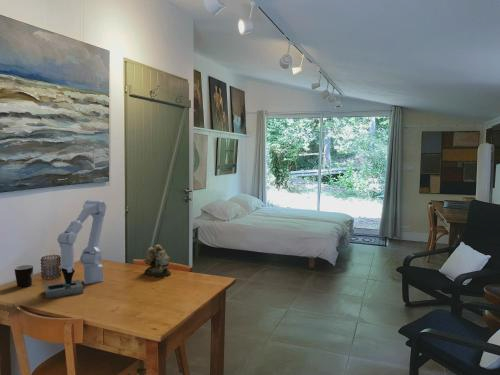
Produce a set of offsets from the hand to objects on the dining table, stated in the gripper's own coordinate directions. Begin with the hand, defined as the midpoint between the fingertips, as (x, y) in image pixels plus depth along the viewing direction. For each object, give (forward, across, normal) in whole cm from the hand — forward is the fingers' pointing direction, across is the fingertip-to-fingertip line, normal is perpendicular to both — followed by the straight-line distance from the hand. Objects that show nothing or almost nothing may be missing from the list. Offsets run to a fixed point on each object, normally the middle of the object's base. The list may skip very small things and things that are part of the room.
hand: (68, 283), depth 195 cm
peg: (+4, 0, 0) cm, 4 cm away
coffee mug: (+5, -22, -17) cm, 28 cm away
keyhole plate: (+4, 0, -2) cm, 5 cm away
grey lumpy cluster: (+5, -6, +48) cm, 49 cm away
